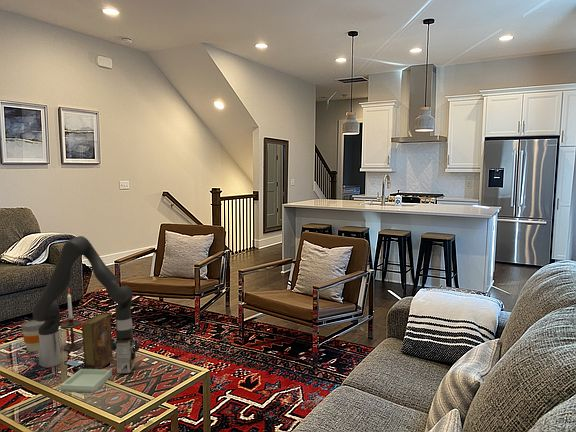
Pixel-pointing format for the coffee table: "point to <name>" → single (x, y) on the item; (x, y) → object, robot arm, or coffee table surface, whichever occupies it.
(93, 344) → the book
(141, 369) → the coffee table surface
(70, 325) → the candlestick
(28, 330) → the reusable coffee cup
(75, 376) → the tray
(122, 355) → the coffee box
